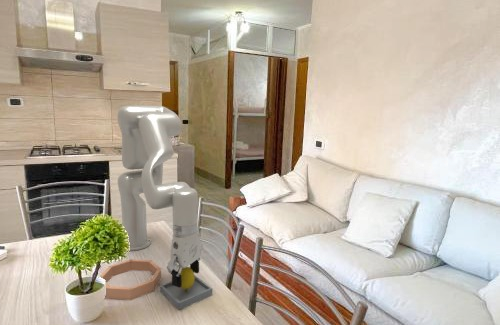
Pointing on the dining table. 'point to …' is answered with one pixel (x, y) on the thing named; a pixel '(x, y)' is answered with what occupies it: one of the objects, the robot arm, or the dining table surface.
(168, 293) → the tray
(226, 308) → the dining table surface
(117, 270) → the collar
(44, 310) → the dining table surface
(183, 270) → the lemon
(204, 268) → the dining table surface
